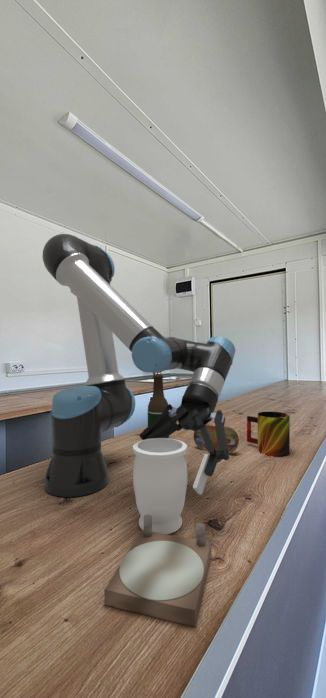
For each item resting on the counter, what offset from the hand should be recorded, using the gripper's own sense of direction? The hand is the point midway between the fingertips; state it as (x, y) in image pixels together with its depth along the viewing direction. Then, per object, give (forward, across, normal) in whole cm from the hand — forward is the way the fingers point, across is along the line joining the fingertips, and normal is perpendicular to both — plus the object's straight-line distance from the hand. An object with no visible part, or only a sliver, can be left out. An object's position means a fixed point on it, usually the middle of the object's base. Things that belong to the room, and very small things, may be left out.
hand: (165, 482), depth 60 cm
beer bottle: (-24, +33, -36) cm, 54 cm away
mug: (-32, -2, -44) cm, 54 cm away
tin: (-25, +11, -38) cm, 47 cm away
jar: (+6, +1, -6) cm, 8 cm away
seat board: (+14, -8, +2) cm, 16 cm away
